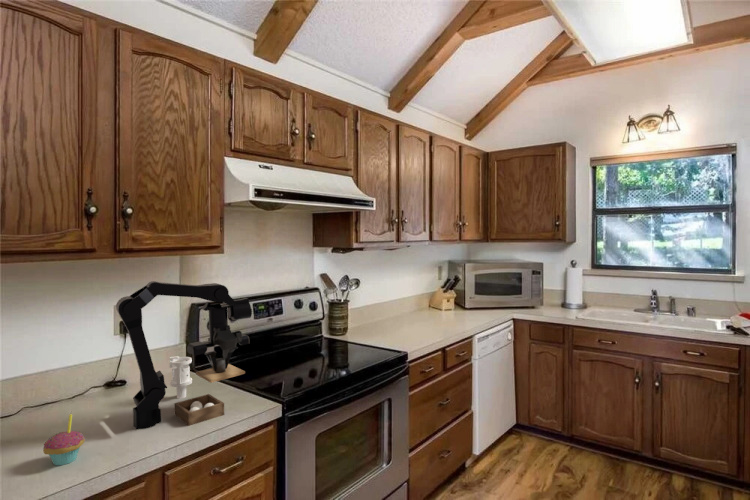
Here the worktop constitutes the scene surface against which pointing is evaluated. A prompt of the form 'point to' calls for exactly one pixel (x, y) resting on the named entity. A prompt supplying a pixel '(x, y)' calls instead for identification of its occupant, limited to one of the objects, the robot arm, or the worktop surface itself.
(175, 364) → the white tall flanged cylinder
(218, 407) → the box
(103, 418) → the worktop surface
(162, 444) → the worktop surface
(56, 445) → the cupcake
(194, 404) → the egg
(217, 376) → the lid
